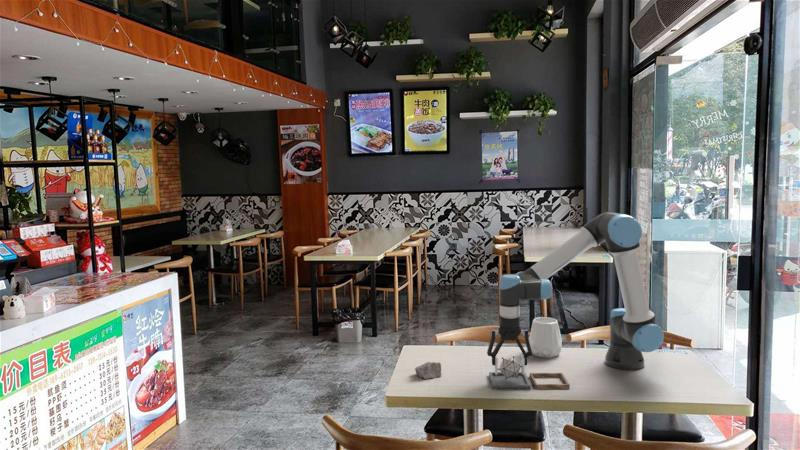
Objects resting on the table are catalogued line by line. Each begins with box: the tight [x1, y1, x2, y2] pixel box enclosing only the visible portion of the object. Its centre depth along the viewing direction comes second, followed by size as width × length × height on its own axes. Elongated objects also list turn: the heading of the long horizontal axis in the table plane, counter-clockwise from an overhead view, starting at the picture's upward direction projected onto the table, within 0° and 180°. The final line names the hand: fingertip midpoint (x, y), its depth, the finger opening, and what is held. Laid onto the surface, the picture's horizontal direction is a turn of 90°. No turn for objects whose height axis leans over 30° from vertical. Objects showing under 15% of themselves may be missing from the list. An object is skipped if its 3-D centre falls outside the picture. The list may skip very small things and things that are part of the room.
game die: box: [498, 355, 522, 380], centre depth 230 cm, size 9×8×10 cm
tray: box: [488, 371, 532, 390], centre depth 230 cm, size 14×14×2 cm
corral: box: [529, 372, 571, 390], centre depth 230 cm, size 13×13×2 cm
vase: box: [528, 316, 563, 359], centre depth 262 cm, size 14×14×15 cm
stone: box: [414, 361, 443, 380], centre depth 239 cm, size 10×8×6 cm
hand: (509, 373), depth 230 cm, fingers closed on game die, 9 cm apart
